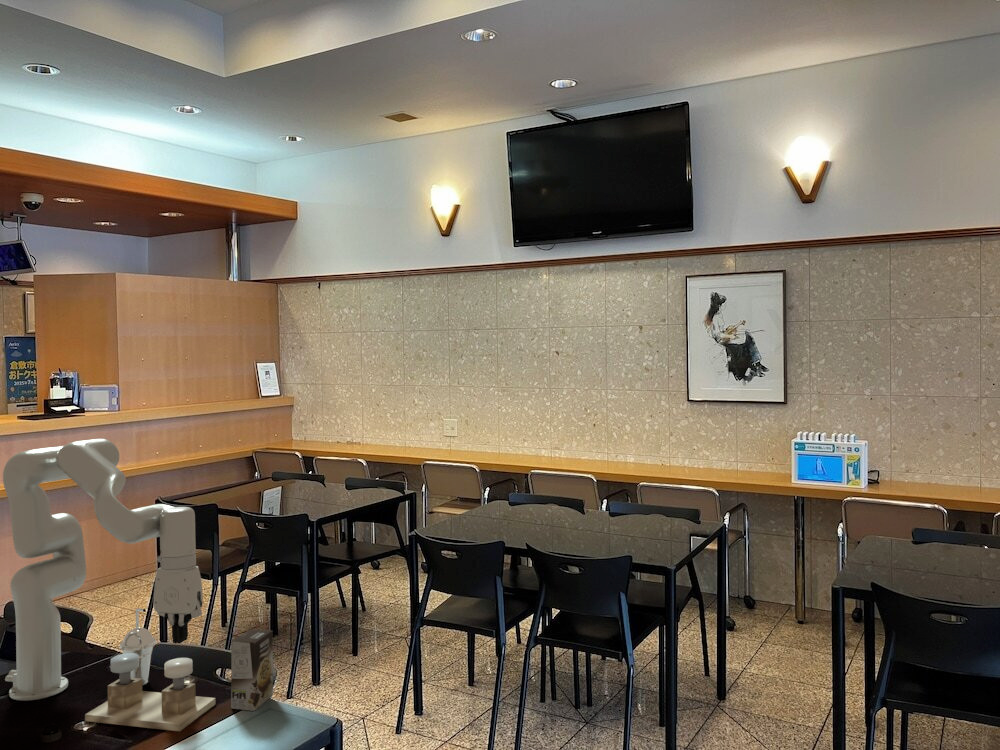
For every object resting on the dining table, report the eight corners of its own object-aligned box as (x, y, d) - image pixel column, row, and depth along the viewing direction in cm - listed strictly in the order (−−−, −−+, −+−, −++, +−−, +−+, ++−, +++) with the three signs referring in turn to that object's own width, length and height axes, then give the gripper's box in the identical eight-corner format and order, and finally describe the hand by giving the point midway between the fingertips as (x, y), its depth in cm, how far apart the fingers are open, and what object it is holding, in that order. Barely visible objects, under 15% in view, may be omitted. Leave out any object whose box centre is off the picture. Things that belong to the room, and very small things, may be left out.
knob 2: (158, 699, 179) (158, 666, 179) (175, 688, 185) (174, 656, 185) (182, 701, 178) (182, 668, 177) (198, 690, 183) (197, 658, 183)
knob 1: (104, 693, 182) (104, 661, 182) (122, 683, 188) (122, 652, 187) (127, 696, 180) (127, 663, 180) (144, 685, 186) (144, 654, 186)
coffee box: (255, 711, 183) (255, 642, 183) (230, 709, 185) (229, 640, 184) (274, 695, 192) (274, 629, 192) (250, 693, 193) (249, 627, 193)
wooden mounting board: (85, 721, 178) (84, 692, 178) (126, 695, 192) (126, 668, 192) (179, 731, 173) (179, 702, 173) (215, 704, 187) (215, 677, 187)
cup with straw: (158, 674, 205) (158, 598, 204) (153, 688, 196) (153, 608, 196) (123, 678, 202) (122, 600, 202) (116, 692, 194) (115, 611, 193)
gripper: (138, 564, 178) (140, 645, 179) (198, 567, 175) (199, 649, 176) (159, 556, 186) (161, 634, 186) (216, 558, 183) (218, 637, 183)
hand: (180, 641), depth 181 cm, fingers closed
